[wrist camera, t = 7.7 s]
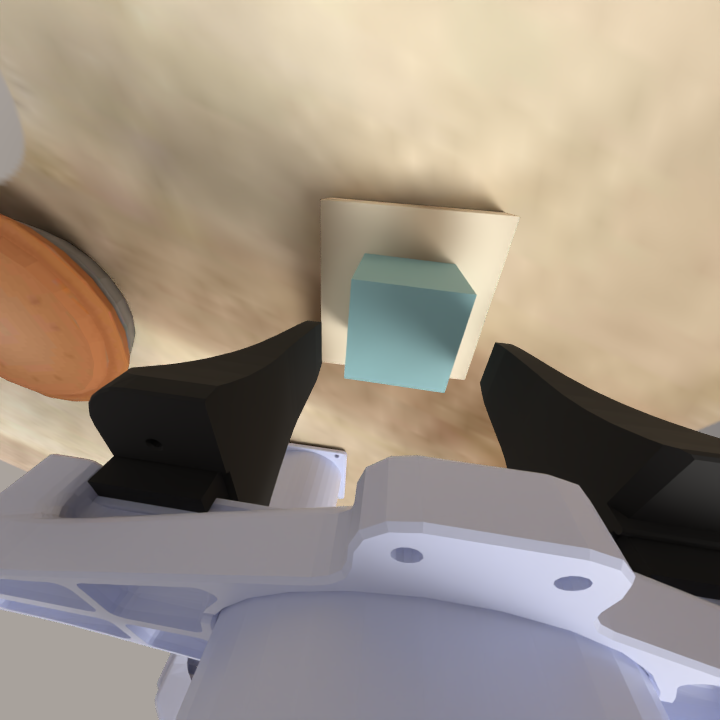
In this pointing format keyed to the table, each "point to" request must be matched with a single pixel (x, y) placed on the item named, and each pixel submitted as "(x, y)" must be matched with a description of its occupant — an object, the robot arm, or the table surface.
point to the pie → (58, 316)
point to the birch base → (414, 241)
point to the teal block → (406, 321)
